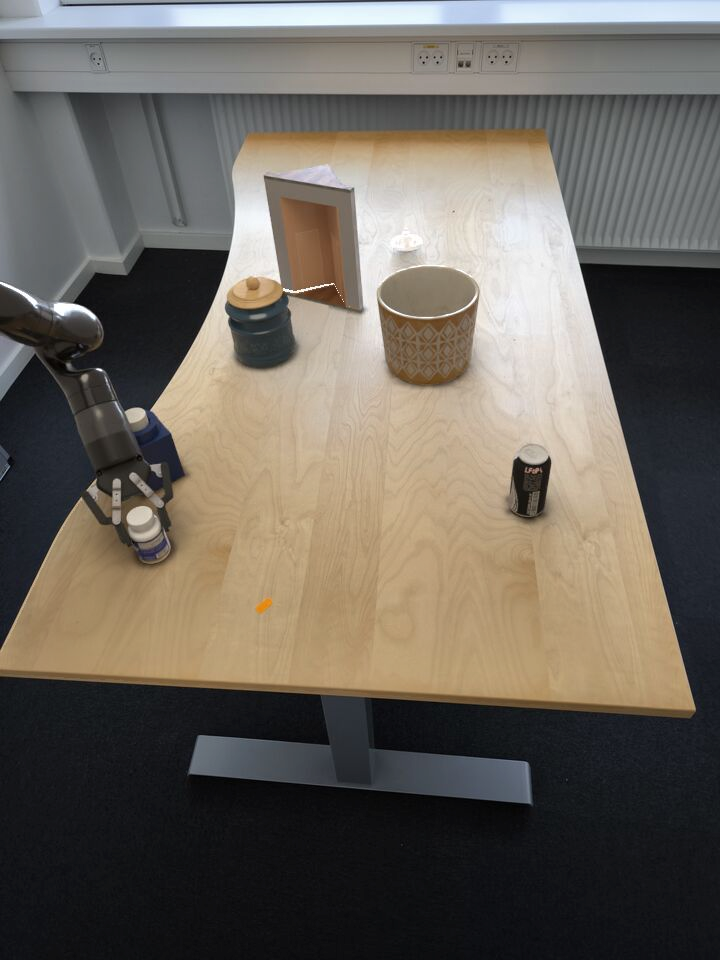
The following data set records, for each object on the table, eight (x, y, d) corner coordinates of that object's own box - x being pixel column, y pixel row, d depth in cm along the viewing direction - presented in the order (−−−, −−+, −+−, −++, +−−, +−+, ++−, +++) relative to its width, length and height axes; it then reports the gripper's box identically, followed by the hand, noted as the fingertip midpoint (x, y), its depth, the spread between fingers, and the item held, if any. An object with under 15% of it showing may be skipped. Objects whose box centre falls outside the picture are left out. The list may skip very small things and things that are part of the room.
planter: (491, 378, 144) (496, 304, 132) (398, 401, 141) (395, 327, 129) (454, 327, 157) (456, 256, 146) (368, 347, 154) (363, 276, 143)
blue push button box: (144, 496, 127) (123, 445, 119) (125, 472, 132) (104, 421, 123) (185, 475, 130) (168, 424, 122) (165, 452, 135) (147, 401, 126)
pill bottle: (136, 544, 119) (120, 507, 113) (168, 535, 120) (154, 498, 114) (140, 568, 116) (123, 532, 109) (173, 559, 116) (158, 522, 110)
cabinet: (282, 294, 172) (263, 175, 153) (304, 274, 178) (288, 157, 158) (360, 312, 164) (350, 189, 144) (380, 292, 170) (373, 170, 150)
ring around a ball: (394, 259, 180) (425, 254, 181) (393, 237, 176) (425, 232, 177) (387, 245, 186) (418, 240, 187) (386, 223, 182) (417, 219, 183)
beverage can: (523, 489, 122) (530, 435, 114) (551, 506, 119) (560, 452, 110) (501, 507, 120) (506, 453, 111) (529, 525, 116) (536, 471, 108)
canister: (224, 364, 154) (206, 289, 141) (252, 330, 162) (237, 257, 150) (280, 374, 150) (267, 298, 137) (306, 339, 158) (295, 264, 146)
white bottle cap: (130, 435, 121) (127, 426, 119) (121, 423, 123) (117, 414, 122) (152, 425, 122) (149, 415, 121) (142, 413, 125) (139, 404, 123)
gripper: (57, 450, 107) (101, 557, 107) (153, 417, 111) (194, 521, 111) (63, 455, 114) (105, 556, 115) (153, 424, 118) (192, 521, 119)
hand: (149, 538), depth 113 cm, fingers closed on pill bottle, 5 cm apart
